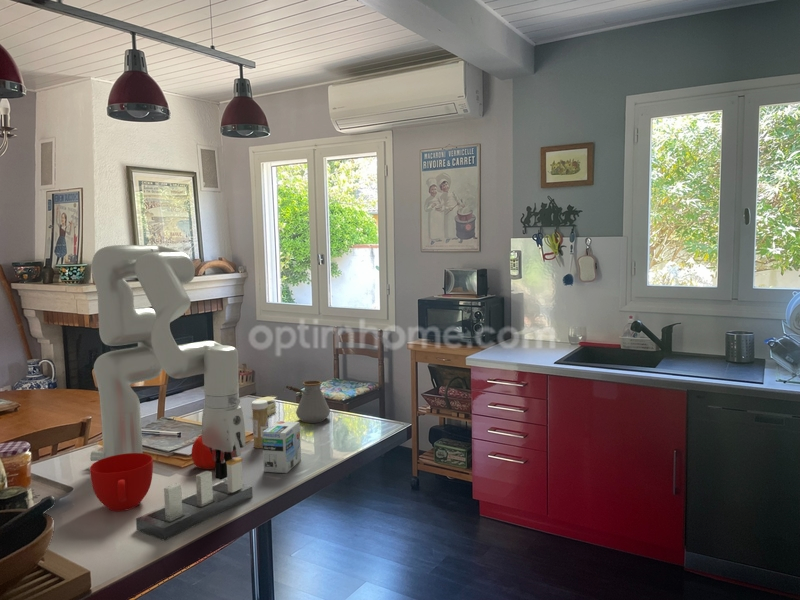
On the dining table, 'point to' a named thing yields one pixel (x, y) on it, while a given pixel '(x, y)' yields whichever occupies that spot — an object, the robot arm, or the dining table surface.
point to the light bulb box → (281, 446)
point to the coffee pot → (311, 403)
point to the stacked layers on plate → (269, 404)
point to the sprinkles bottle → (259, 421)
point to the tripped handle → (234, 474)
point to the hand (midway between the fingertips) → (223, 477)
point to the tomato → (202, 455)
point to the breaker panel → (190, 506)
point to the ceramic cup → (122, 480)
